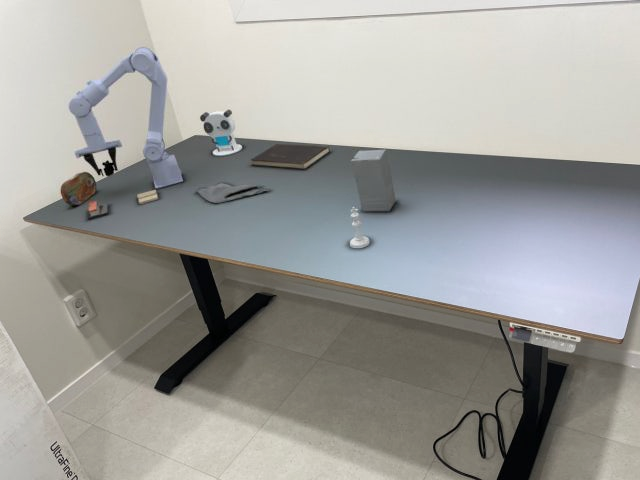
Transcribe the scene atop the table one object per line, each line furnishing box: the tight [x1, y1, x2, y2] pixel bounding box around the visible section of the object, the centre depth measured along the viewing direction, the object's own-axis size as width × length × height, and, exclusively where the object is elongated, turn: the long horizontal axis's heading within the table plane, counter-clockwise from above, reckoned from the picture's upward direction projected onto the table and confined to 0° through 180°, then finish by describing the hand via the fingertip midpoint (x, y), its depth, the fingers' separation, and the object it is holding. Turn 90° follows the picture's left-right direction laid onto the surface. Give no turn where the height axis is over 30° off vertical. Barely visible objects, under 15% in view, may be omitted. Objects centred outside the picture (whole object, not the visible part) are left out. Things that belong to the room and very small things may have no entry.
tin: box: [60, 171, 97, 206], centre depth 194 cm, size 15×3×8 cm, turn 168°
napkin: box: [137, 189, 159, 205], centre depth 188 cm, size 6×6×1 cm
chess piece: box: [349, 206, 370, 249], centre depth 139 cm, size 5×5×10 cm
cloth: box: [195, 182, 270, 204], centre depth 181 cm, size 26×14×2 cm, turn 60°
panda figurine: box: [199, 109, 243, 157], centre depth 216 cm, size 12×11×15 cm
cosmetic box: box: [350, 149, 397, 212], centre depth 153 cm, size 8×7×16 cm
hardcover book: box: [250, 143, 331, 171], centre depth 200 cm, size 16×23×2 cm
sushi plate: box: [87, 200, 109, 221], centre depth 183 cm, size 6×8×3 cm
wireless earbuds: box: [98, 160, 116, 177], centre depth 192 cm, size 7×2×5 cm, turn 154°
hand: (108, 172), depth 192 cm, fingers closed on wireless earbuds, 5 cm apart
